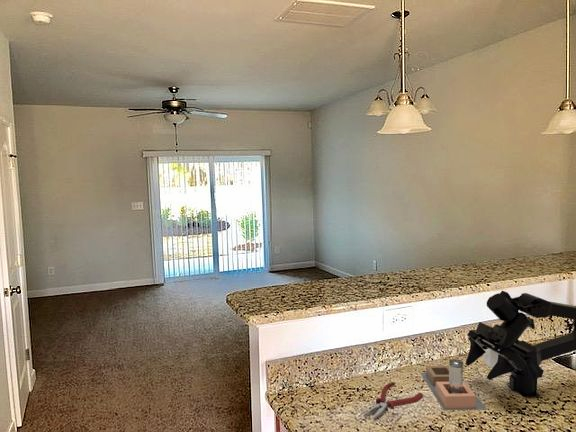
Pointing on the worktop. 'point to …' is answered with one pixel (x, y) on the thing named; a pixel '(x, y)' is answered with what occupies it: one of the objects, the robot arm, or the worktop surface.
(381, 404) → the pliers
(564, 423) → the worktop surface
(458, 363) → the peg
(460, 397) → the socket
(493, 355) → the jar
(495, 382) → the worktop surface
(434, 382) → the dock plate
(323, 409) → the worktop surface
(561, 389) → the worktop surface
